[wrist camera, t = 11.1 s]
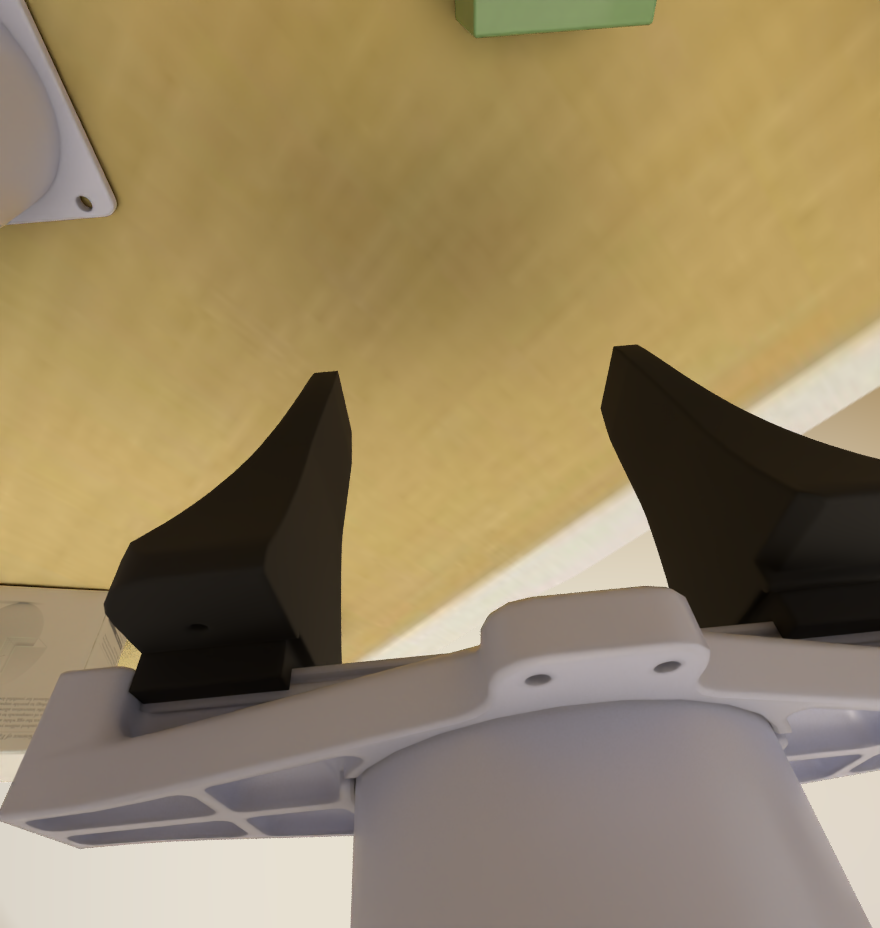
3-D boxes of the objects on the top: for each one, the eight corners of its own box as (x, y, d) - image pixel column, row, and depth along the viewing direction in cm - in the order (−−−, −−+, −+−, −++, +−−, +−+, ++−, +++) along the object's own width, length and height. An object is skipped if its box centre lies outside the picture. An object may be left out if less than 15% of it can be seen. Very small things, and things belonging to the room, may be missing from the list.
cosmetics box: (-23, 627, 39) (-121, 790, 31) (-58, 579, 34) (-181, 754, 27) (132, 634, 41) (76, 787, 33) (118, 590, 37) (50, 753, 29)
